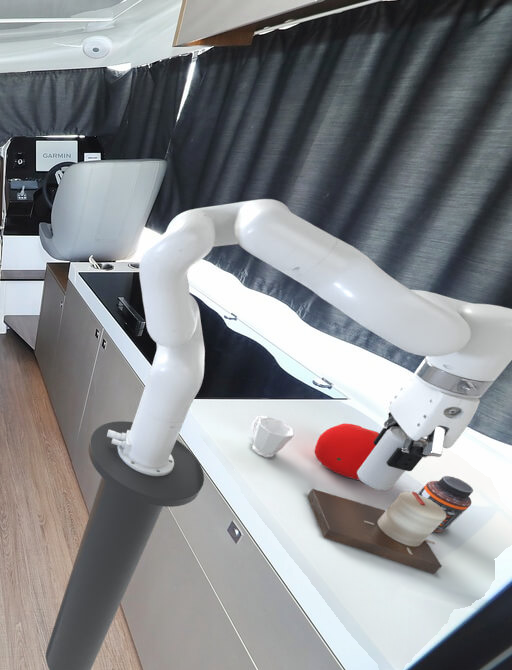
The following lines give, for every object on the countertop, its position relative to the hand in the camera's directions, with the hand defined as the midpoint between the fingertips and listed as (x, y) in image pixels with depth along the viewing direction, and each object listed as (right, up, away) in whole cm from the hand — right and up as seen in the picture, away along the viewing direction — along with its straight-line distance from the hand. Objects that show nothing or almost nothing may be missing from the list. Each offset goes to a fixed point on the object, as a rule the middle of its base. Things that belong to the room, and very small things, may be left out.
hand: (391, 456), depth 77 cm
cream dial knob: (+7, -17, +5) cm, 19 cm away
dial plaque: (+3, -18, +8) cm, 20 cm away
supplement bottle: (+18, -17, +10) cm, 27 cm away
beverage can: (0, -6, +3) cm, 7 cm away
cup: (-1, -7, +28) cm, 29 cm away
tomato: (+14, -10, +22) cm, 28 cm away
